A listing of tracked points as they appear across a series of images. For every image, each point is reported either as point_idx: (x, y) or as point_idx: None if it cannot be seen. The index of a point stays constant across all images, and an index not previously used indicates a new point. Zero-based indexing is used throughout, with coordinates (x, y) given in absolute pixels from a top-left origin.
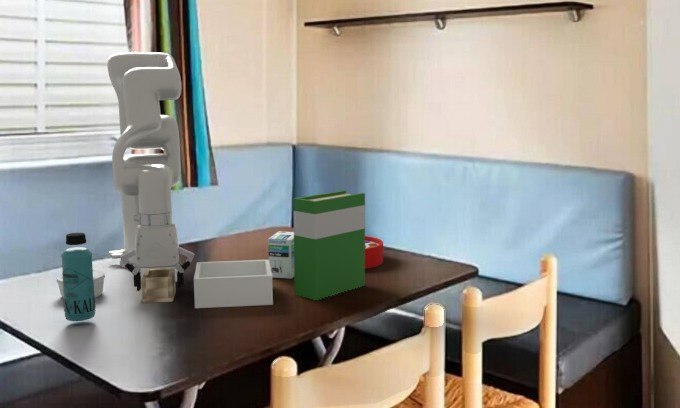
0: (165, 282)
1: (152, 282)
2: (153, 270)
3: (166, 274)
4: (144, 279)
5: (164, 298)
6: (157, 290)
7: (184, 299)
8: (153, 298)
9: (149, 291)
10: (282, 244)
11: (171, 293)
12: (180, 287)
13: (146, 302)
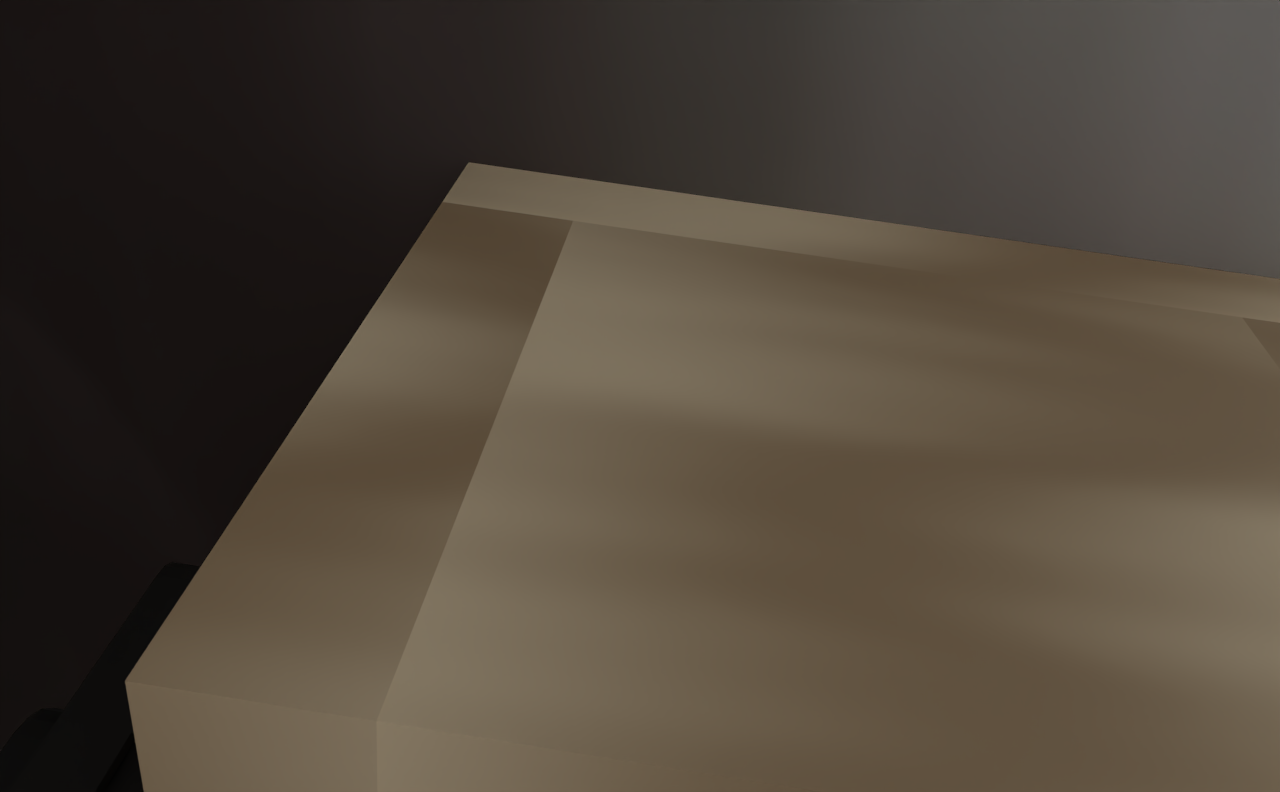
0: (550, 563)
1: (1206, 677)
2: None
3: None
4: None
5: (691, 231)
6: (923, 409)
7: (165, 248)
8: (1033, 295)
9: (1224, 445)
10: None
11: (432, 269)
12: (156, 597)
13: (1221, 274)
